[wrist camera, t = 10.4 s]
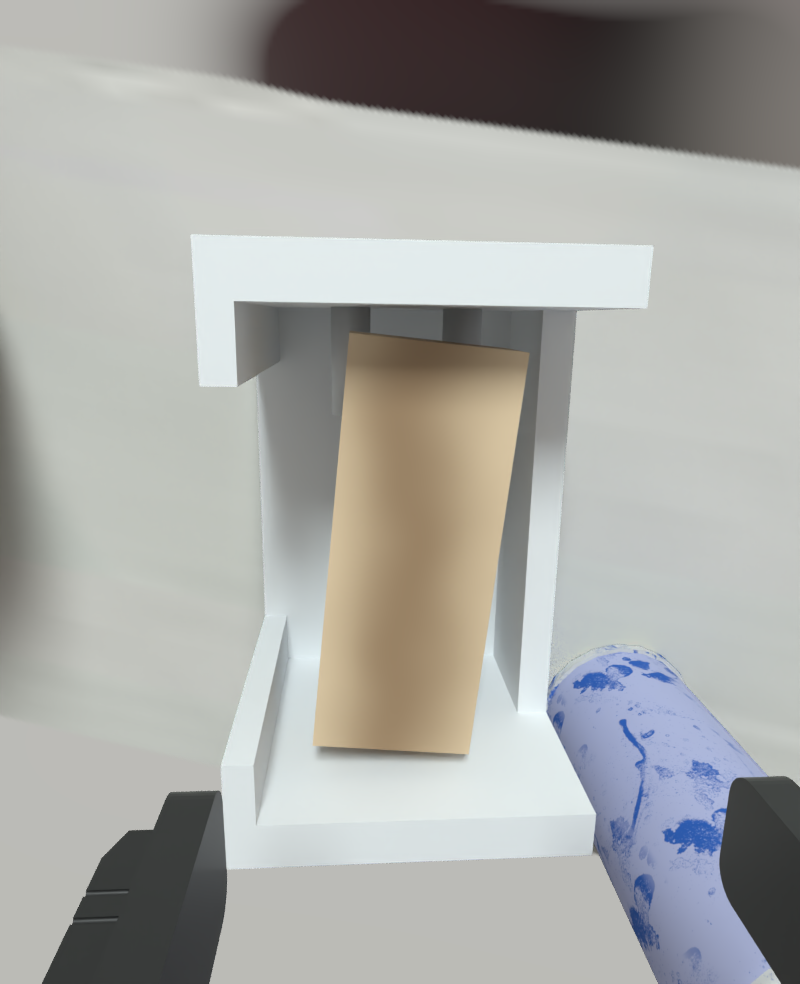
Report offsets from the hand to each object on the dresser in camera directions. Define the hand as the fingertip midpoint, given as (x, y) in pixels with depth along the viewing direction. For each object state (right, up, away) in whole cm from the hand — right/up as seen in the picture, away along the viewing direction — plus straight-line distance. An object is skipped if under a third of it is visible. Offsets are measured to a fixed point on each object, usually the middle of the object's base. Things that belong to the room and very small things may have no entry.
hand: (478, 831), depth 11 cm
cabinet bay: (-1, +5, +21) cm, 22 cm away
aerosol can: (+10, -6, +25) cm, 27 cm away
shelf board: (-1, +4, +15) cm, 16 cm away
